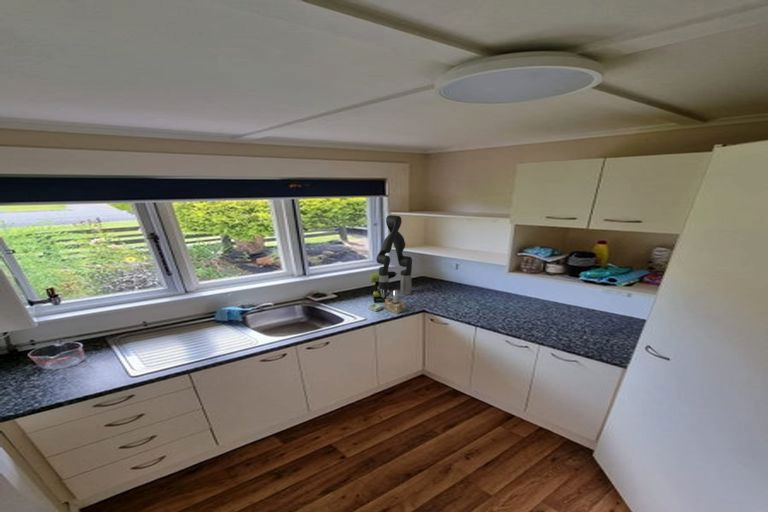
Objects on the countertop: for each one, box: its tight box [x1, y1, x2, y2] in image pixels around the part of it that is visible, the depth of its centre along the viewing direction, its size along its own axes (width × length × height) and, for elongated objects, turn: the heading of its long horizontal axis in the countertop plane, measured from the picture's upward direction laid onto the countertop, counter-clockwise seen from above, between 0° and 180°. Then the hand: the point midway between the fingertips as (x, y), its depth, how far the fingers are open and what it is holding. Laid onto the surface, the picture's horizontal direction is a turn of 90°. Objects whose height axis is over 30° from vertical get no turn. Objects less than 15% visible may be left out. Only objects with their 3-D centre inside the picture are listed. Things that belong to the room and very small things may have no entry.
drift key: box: [384, 297, 391, 309], centre depth 238 cm, size 3×3×7 cm
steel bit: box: [392, 289, 399, 304], centre depth 233 cm, size 3×3×16 cm
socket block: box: [385, 299, 406, 315], centre depth 234 cm, size 10×10×6 cm
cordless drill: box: [369, 270, 399, 304], centre depth 252 cm, size 23×7×25 cm, turn 99°
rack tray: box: [367, 303, 384, 312], centre depth 237 cm, size 8×8×2 cm
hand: (383, 301), depth 240 cm, fingers closed
